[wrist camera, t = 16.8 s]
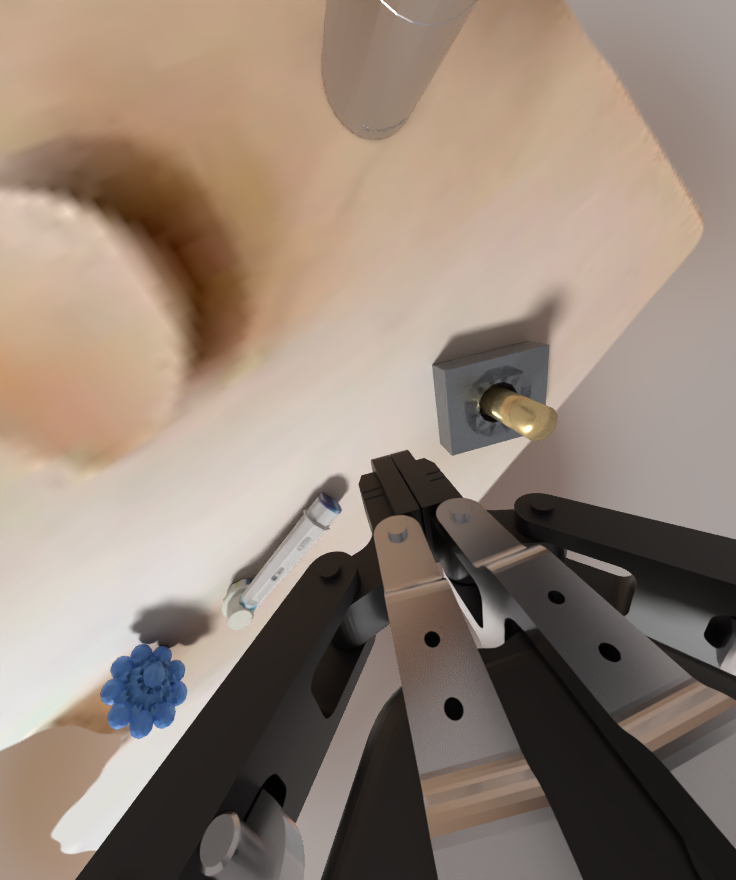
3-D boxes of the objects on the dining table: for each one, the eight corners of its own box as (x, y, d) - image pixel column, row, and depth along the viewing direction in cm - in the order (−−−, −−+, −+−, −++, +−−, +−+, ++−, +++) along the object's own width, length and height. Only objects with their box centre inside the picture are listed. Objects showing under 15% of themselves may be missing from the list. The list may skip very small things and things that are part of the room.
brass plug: (469, 384, 43) (524, 412, 33) (495, 378, 44) (558, 402, 33) (470, 411, 45) (523, 445, 34) (496, 404, 46) (556, 435, 35)
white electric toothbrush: (348, 517, 44) (242, 647, 45) (338, 496, 50) (245, 611, 52) (319, 500, 42) (208, 637, 43) (313, 480, 48) (216, 600, 49)
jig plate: (432, 365, 41) (444, 370, 38) (528, 341, 42) (549, 344, 39) (440, 443, 46) (452, 455, 43) (525, 420, 48) (543, 430, 44)
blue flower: (209, 637, 53) (186, 722, 42) (192, 662, 55) (166, 750, 44) (135, 621, 49) (88, 712, 38) (119, 649, 50) (69, 743, 39)
